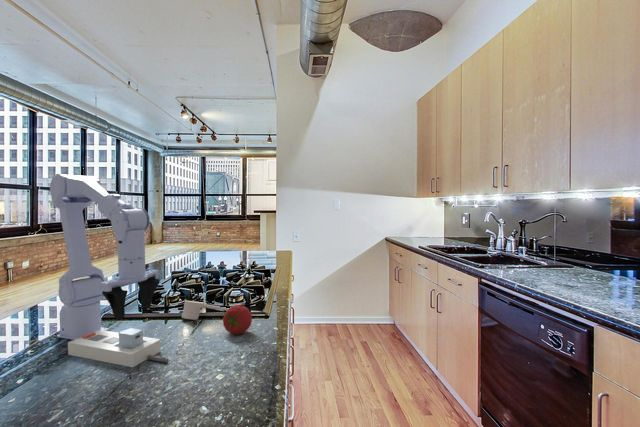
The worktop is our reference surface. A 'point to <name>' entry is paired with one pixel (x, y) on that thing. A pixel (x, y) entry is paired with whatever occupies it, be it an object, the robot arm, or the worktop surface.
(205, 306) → the toilet paper hanger
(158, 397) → the worktop surface
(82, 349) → the power strip
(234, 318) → the tomato
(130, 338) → the block
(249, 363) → the worktop surface
